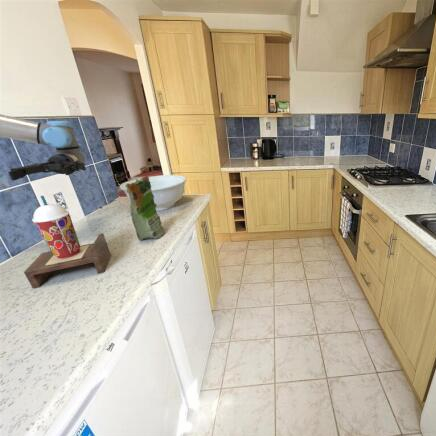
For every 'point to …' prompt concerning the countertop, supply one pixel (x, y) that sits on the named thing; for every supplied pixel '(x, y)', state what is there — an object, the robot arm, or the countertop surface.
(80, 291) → the countertop surface
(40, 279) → the shelf
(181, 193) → the bowl
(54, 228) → the smoothie
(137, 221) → the pouch
